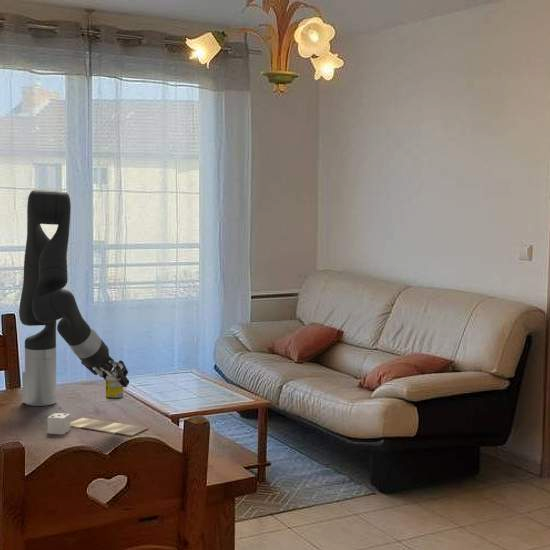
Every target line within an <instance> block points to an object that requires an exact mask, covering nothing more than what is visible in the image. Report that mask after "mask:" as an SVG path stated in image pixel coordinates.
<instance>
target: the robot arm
mask: <svg viewBox="0 0 550 550" xmlns="http://www.w3.org/2000/svg"><path fill="white" fill-rule="evenodd" d="M71 205H72V203H71V198H70V195H69V193H68V192H66V191H64V190H56V189H55V190H53V189H33V190H31V191H30V192H29V194H28V198H27V211H26V219H27V222H26V226H27V227H26V229H27V230H26V241H25V243H26V244H25V250H24V251H25V252H24V258H23V259H24V260H23V281H22V290H21V295H20V302H19V308H18V312H19V313H18V316H19V321H20V322H21V324H22V325H24V326H28V327H29V326H30V327H32V326H36V327H38V326H44V328H43V329H41V331H39V332H37V333H35V334H33V335H30V336H28V337H26V338H25V340H24V371H22V373H21V376H22V377H21V379H22V380H21V381H22V383H21V386H22V391H21V392H22V403H24V404H25V405H26V406H27V405H28V406H32V407H43V406H50V405H53V404H56V403H57V333H58V334H59V335H60V337H62V339H63V340H64V341H65V342H66V343H67V344H68V346H69V347H70V349H71V351H72V352H73V353H74V354H75V355H76V357H77V358H78V359H79V360H80V362H81V364H82V365H83V366H84V367H85V368H86V369H87V370H88V371H89V372H91V373H92V374H93V375H95V376H97V375H98V376H99V377H100V378H102V379H104V381H105V382H106V376H108V375H110V376H114V377H115V378H116V379H117V380H118V381H119V382H120V384H121V385H122V386H123V388H127V387H128V385H129V383H130V380H129V379H128V377H127V376H128V374H129V371H128V368H127V367H126V365H125V363H124V362H123V360H121V359H120V360H118V362H117V361H115V360H114V358H112V357H111V356H110V349H109V347H108V346H107V344H106V343H105V342H104V341H103V339H102V338H101V337H100V336H99V334H98V333H97V332H96V331H95V330H94V328H92V327H91V325H89V324H88V322H87V321H86V320H85V319H84V318H83V316H82V314H81V312H80V310H79V306H78V303H77V301H76V298H75V296H74V294H73V293H72V292H71V291H70V290H69V289H66V288H65V287H66V286H67V284H68V276H69V275H68V259H67V258H68V249H69V248H68V245H69V237H70V227H71V226H70V225H71V213H72V212H71ZM42 225H53V226H55V225H57V229H56V231H55V233H54V234H53V236H52V237H51V239H50V238H49V237H48V235H47V234H46V233H45V232H44V230H43V228H42ZM58 320H59V321H58ZM57 321H58V323H57ZM113 368H114V369H113ZM112 369H113V370H112ZM111 370H112V372H110V371H111ZM116 372H117V373H118V375H116ZM107 374H108V375H107Z"/></svg>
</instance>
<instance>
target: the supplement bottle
mask: <svg viewBox="0 0 550 550" xmlns="http://www.w3.org/2000/svg"><path fill="white" fill-rule="evenodd" d="M113 369H114V367H113ZM113 369H112V370H113ZM112 370H111V371H110V372H112ZM107 375H108V374H107ZM116 375H118V373H117V372H116ZM123 399H124V387H123V386H122V385H121V384H120V382H119V381H118V380H117V379H116V378H115V377H114V376H110V375H108V376H106V381H105V400H106V401H109V402H118V401H122V400H123Z"/></svg>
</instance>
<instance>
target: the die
mask: <svg viewBox="0 0 550 550" xmlns="http://www.w3.org/2000/svg"><path fill="white" fill-rule="evenodd" d="M70 422H71V413H60V412H59V413H58V412H54V413H52V414H50V415H49V416H47V434H48V433H49V434H51V435H63V434H64V435H65V434H67V433H68V432H69V430H70V431H71V427H70ZM66 432H67V433H66Z"/></svg>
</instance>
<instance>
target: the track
mask: <svg viewBox="0 0 550 550" xmlns="http://www.w3.org/2000/svg"><path fill="white" fill-rule="evenodd" d="M70 428H75V429H82V430H86V431H87V430H89V431H93V430H95V431H94V432H100V431H101V432H100V433H106V432H107V433H108V434H113V435H118V436H124V435H125V436H124V437H126V436H127V437H131V438H132V437H134V435H135V436H137V435H140V434H141V433H143V432H146V431H147V430H149V427H146V426H140V425H139V426H138V425H132V424H126V423H120V422H114V421H113V422H112V421H107V420H100V419H95V418H94V419H93V418H88V417H87V418H86V417H81V418H78V419H75V420H74V421H70ZM107 433H106V434H107ZM136 434H137V435H136Z"/></svg>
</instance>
